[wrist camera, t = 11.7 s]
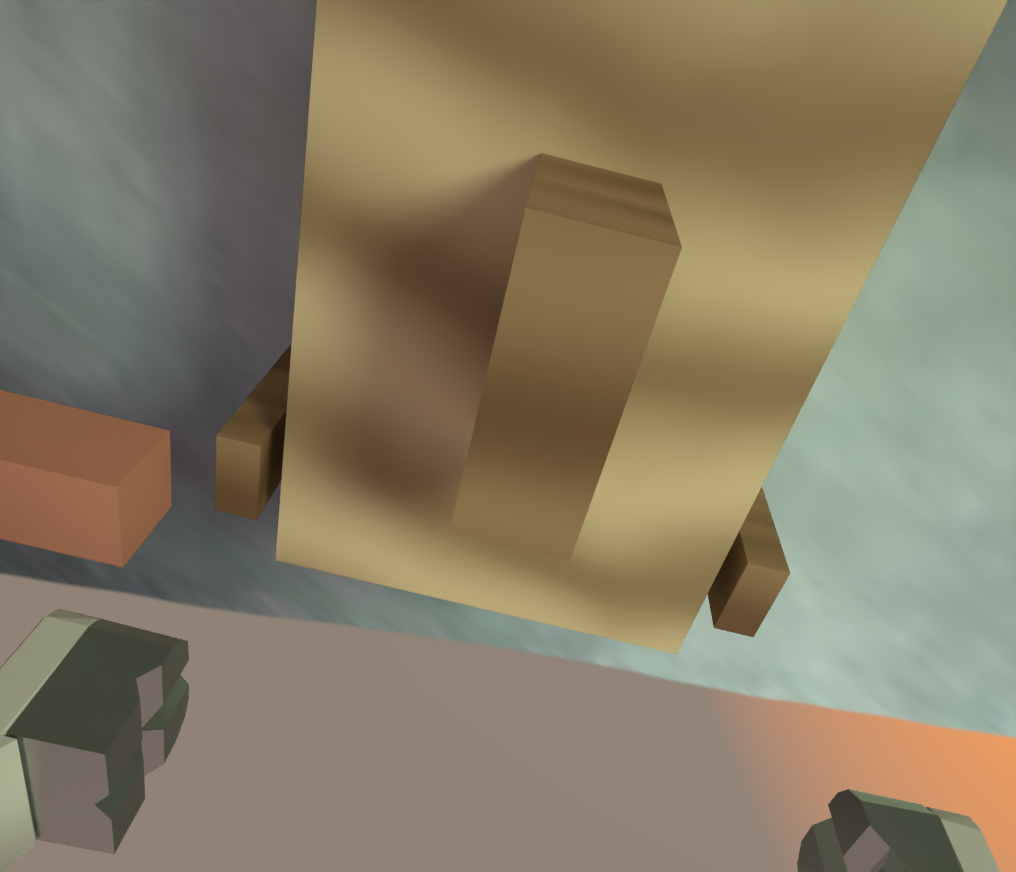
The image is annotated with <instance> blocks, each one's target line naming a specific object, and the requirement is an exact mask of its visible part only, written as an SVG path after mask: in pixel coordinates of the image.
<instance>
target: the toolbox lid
mask: <svg viewBox="0 0 1016 872" xmlns="http://www.w3.org/2000/svg"><path fill="white" fill-rule="evenodd" d="M1007 1H1008V0H317V7H316V20H315V34H314V47H313V61H312V75H311V88H310V102H309V115H308V129H307V142H306V156H305V169H304V183H303V196H302V210H301V223H300V237H299V250H298V264H297V277H296V291H295V304H294V318H293V331H292V345H291V358H290V372H289V385H288V399H287V412H286V426H285V439H284V453H283V467H282V480H281V494H280V507H279V521H278V534H277V548H276V560H278V561H282V562H286V563H290V564H295V565H299V566H303V567H308V568H312V569H316V570H320V571H325V572H329V573H333V574H337V575H342V576H346V577H350V578H354V579H359V580H363V581H367V582H371V583H376V584H380V585H384V586H388V587H393V588H397V589H401V590H405V591H410V592H414V593H418V594H423V595H427V596H431V597H435V598H440V599H444V600H448V601H452V602H457V603H461V604H465V605H469V606H474V607H478V608H482V609H486V610H491V611H495V612H499V613H503V614H508V615H512V616H516V617H520V618H525V619H529V620H533V621H537V622H542V623H546V624H550V625H555V626H559V627H563V628H567V629H572V630H576V631H580V632H584V633H589V634H593V635H597V636H601V637H606V638H610V639H614V640H618V641H623V642H627V643H631V644H635V645H640V646H644V647H648V648H652V649H657V650H661V651H665V652H670V653H674V654H677V653H678V651H679V649H680V647H681V645H682V643H683V641H684V639H685V637H686V635H687V633H688V631H689V629H690V627H691V625H692V623H693V621H694V619H695V617H696V615H697V613H698V611H699V610H700V608H701V606H702V604H703V602H704V600H705V598H706V596H707V594H708V592H709V590H710V588H711V586H712V584H713V582H714V580H715V578H716V576H717V574H718V572H719V570H720V568H721V566H722V564H723V562H724V560H725V558H726V556H727V554H728V552H729V550H730V548H731V546H732V544H733V542H734V540H735V538H736V536H737V534H738V532H739V530H740V528H741V526H742V524H743V523H744V521H745V519H746V517H747V515H748V513H749V511H750V509H751V507H752V505H753V503H754V501H755V499H756V497H757V495H758V493H759V491H760V489H761V487H762V485H763V483H764V481H765V479H766V477H767V475H768V473H769V471H770V469H771V467H772V465H773V463H774V461H775V459H776V457H777V455H778V453H779V451H780V449H781V447H782V445H783V443H784V441H785V439H786V437H787V436H788V434H789V432H790V430H791V428H792V426H793V424H794V422H795V420H796V418H797V416H798V414H799V412H800V410H801V408H802V406H803V404H804V402H805V400H806V398H807V396H808V394H809V392H810V390H811V388H812V386H813V384H814V382H815V380H816V378H817V376H818V374H819V372H820V370H821V368H822V366H823V364H824V362H825V360H826V358H827V356H828V354H829V352H830V351H831V349H832V347H833V345H834V343H835V341H836V339H837V337H838V335H839V333H840V331H841V329H842V327H843V325H844V323H845V321H846V319H847V317H848V315H849V313H850V311H851V309H852V307H853V305H854V303H855V301H856V299H857V297H858V295H859V293H860V291H861V289H862V287H863V285H864V283H865V281H866V279H867V277H868V275H869V273H870V271H871V269H872V267H873V265H874V264H875V262H876V260H877V258H878V256H879V254H880V252H881V250H882V248H883V246H884V244H885V242H886V240H887V238H888V236H889V234H890V232H891V230H892V228H893V226H894V224H895V222H896V220H897V218H898V216H899V214H900V212H901V210H902V208H903V206H904V204H905V202H906V200H907V198H908V196H909V194H910V192H911V190H912V188H913V186H914V184H915V182H916V180H917V179H918V177H919V175H920V173H921V171H922V169H923V167H924V165H925V163H926V161H927V159H928V157H929V155H930V153H931V151H932V149H933V147H934V145H935V143H936V141H937V139H938V137H939V135H940V133H941V131H942V129H943V127H944V125H945V123H946V121H947V119H948V117H949V115H950V113H951V111H952V109H953V107H954V105H955V103H956V101H957V99H958V97H959V95H960V93H961V92H962V90H963V88H964V86H965V84H966V82H967V80H968V78H969V76H970V74H971V72H972V70H973V68H974V66H975V64H976V62H977V60H978V58H979V56H980V54H981V52H982V50H983V48H984V46H985V44H986V42H987V40H988V38H989V36H990V34H991V32H992V30H993V28H994V26H995V24H996V22H997V20H998V18H999V16H1000V14H1001V12H1002V10H1003V8H1004V7H1005V5H1006V3H1007Z"/></svg>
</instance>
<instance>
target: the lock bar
mask: <svg viewBox="0 0 1016 872" xmlns="http://www.w3.org/2000/svg"><path fill="white" fill-rule="evenodd" d="M171 506H172V498H171V458H170V431H169V430H165V429H161V428H157V427H152V426H148V425H144V424H140V423H136V422H132V421H127V420H123V419H119V418H115V417H111V416H107V415H102V414H98V413H94V412H90V411H86V410H82V409H77V408H73V407H69V406H65V405H61V404H56V403H52V402H48V401H44V400H40V399H36V398H31V397H27V396H23V395H19V394H15V393H11V392H6V391H2V390H0V539H3V540H8V541H12V542H16V543H21V544H25V545H29V546H33V547H38V548H42V549H46V550H51V551H55V552H59V553H63V554H68V555H72V556H76V557H81V558H85V559H89V560H94V561H98V562H102V563H106V564H111V565H115V566H119V567H124V566H125V564H126V563H127V562H128V561H129V559H130V558H131V557H132V555H133V554H134V553H135V552H136V550H137V549H138V548H139V547H140V545H141V544H142V543H143V542H144V540H145V539H146V538H147V537H148V535H149V534H150V533H151V532H152V530H153V529H154V528H155V526H156V525H157V524H158V523H159V521H160V520H161V519H162V518H163V516H164V515H165V514H166V513H167V511H168V510H169V509H170V508H171Z"/></svg>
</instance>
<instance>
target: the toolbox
mask: <svg viewBox="0 0 1016 872" xmlns="http://www.w3.org/2000/svg"><path fill="white" fill-rule="evenodd" d="M291 345H292V344H291ZM291 345H290V346H289V347H288V348H287V350H286V351H285V352H284V353H283V355H282V356H281V357H280V358H279V360H278V361H277V362H276V363H275V364H274V366H273V367H272V368H271V369H270V371H269V372H268V373H267V374H266V375H265V377H264V378H263V379H262V380H261V382H260V383H259V384H258V385H257V386H256V388H255V389H254V390H253V391H252V393H251V394H250V395H249V396H248V397H247V399H246V400H245V401H244V402H243V404H242V405H241V406H240V407H239V408H238V410H237V411H236V412H235V413H234V415H233V416H232V417H231V418H230V419H229V421H228V422H227V423H226V424H225V426H224V427H223V428H222V429H221V430H220V432H219V433H218V434H217V435H216V485H215V510H218V511H222V512H226V513H231V514H235V515H239V516H243V517H247V518H252V519H256V520H257V518H258V517H259V515H260V513H261V512H262V510H263V508H264V507H265V505H266V504H267V502H268V500H269V499H270V497H271V496H272V494H273V492H274V491H275V489H276V487H277V486H278V484H279V483H280V481H281V479H282V467H283V453H284V439H285V426H286V412H287V399H288V385H289V372H290V358H291ZM789 575H790V571H789V568H788V565H787V562H786V559H785V556H784V553H783V550H782V547H781V544H780V541H779V537H778V534H777V531H776V528H775V525H774V522H773V519H772V516H771V513H770V510H769V507H768V504H767V501H766V498H765V495H764V492H763V489H762V487H761V489H760V491H759V493H758V495H757V497H756V499H755V501H754V503H753V505H752V507H751V509H750V511H749V513H748V515H747V517H746V519H745V521H744V523H743V524H742V526H741V528H740V530H739V532H738V534H737V536H736V538H735V540H734V542H733V544H732V546H731V548H730V550H729V552H728V554H727V556H726V558H725V560H724V562H723V564H722V566H721V568H720V570H719V572H718V574H717V576H716V578H715V580H714V582H713V584H712V586H711V588H710V590H709V592H708V598H709V604H710V609H711V615H712V620H713V626H714V628H717V629H721V630H725V631H730V632H734V633H738V634H742V635H746V636H751V637H754V635H755V634H756V632H757V630H758V628H759V627H760V625H761V623H762V622H763V620H764V618H765V616H766V615H767V613H768V611H769V609H770V608H771V606H772V604H773V602H774V601H775V599H776V597H777V595H778V594H779V592H780V590H781V589H782V587H783V585H784V583H785V582H786V580H787V578H788V576H789Z"/></svg>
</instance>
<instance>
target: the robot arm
mask: <svg viewBox="0 0 1016 872" xmlns="http://www.w3.org/2000/svg"><path fill="white" fill-rule="evenodd" d="M188 660H189V654H188V641H186V640H182V639H178V638H174V637H170V636H166V635H163V634H159V633H155V632H151V631H147V630H143V629H139V628H135V627H131V626H127V625H123V624H120V623H116V622H112V621H108V620H104V619H100V618H95V617H91V616H87V615H83V614H79V613H74V612H70V611H66V610H62V609H57V610H56V611H54V612H52V613H51V614H49V615H48V616H46V617H45V618H43V619H42V620H41V621H40V622H39V624H38V625H37V626H36V627H35V628H34V629H33V631H32V632H31V633H30V634H29V635H28V636H27V638H26V639H25V640H24V641H23V642H22V643H21V644H20V645H19V647H18V648H17V649H16V650H15V651H14V652H13V654H12V655H11V656H10V657H9V658H8V659H7V661H6V662H5V663H4V664H3V665H2V666H1V667H0V872H1V871H3V870H4V869H5V868H7V867H8V866H9V865H11V864H12V863H13V862H15V861H16V860H17V859H19V858H20V857H21V856H22V855H24V854H25V853H27V852H28V851H29V850H31V849H32V848H33V847H34V846H36V844H37V842H36V840H42V841H46V842H52V843H57V844H63V845H68V846H73V847H79V848H84V849H89V850H95V851H100V852H106V853H112V854H115V852H116V850H117V848H118V847H119V845H120V843H121V841H122V839H123V838H124V835H125V834H126V832H127V830H128V829H129V826H130V825H131V823H132V821H133V819H134V817H135V816H136V814H137V812H138V810H139V809H140V807H141V805H142V803H143V801H144V799H145V785H144V783H145V782H144V776H145V775H147V774H148V773H150V772H151V771H153V770H155V769H156V768H158V767H159V766H161V765H162V764H164V762H165V761H166V759H167V757H168V755H169V753H170V751H171V749H172V748H173V746H174V744H175V742H176V739H177V737H178V734H179V731H180V729H181V726H182V723H183V721H184V718H185V713H186V708H187V704H188V697H189V685H188V683H187V682H186V681H185V680H184V678H183V677H182V676H181V675H180V674H181V673H182V671H183V669H184V667H185V666H186V664H187V662H188ZM828 806H829V809H830V813H831V816H832V818H829V819H827V820H824V821H822V822H819V823H817V824H814V825H813V826H811V828H810V829H809V831H808V832H807V834H806V835H805V837H804V838H803V840H802V841H801V847H800V852H799V857H798V862H797V866H798V872H1000V870H999V868H998V866H997V864H996V861H995V859H994V857H993V855H992V853H991V851H990V849H989V847H988V845H987V843H986V840H985V838H984V836H983V834H982V832H981V830H980V828H979V827H978V826H977V825H976V824H975V823H974V822H973V820H972V819H971V818H970V817H968V816H964V815H960V814H957V813H952V812H948V811H943V810H938V809H934V808H929V807H924V806H923V805H921V804H916V803H911V802H907V801H902V800H897V799H892V798H887V797H883V796H878V795H873V794H869V793H863V792H859V791H855V790H850V789H847V790H844V791H842V792H838V793H837V794H836V795H835V797H834V798H833V799H832V800H831V802H830V803H829V804H828Z"/></svg>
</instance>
